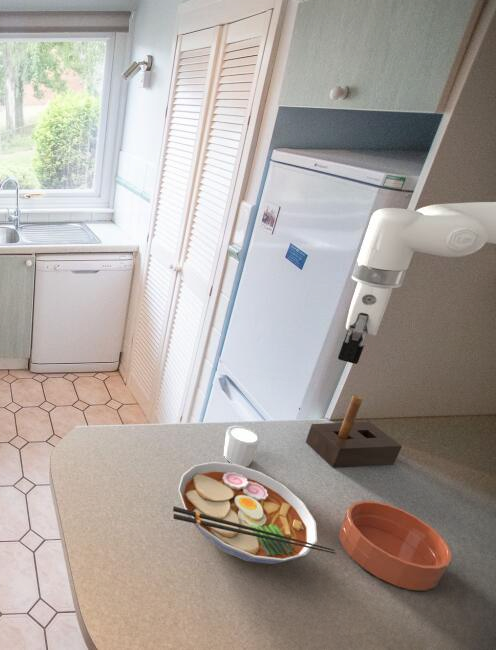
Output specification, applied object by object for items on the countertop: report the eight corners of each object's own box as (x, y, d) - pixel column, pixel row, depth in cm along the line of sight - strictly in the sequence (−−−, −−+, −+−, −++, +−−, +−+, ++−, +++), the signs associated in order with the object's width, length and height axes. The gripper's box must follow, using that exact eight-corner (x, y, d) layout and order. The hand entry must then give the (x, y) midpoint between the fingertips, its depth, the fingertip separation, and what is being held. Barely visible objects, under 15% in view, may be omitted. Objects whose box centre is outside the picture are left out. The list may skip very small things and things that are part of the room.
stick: (340, 452, 108) (362, 395, 101) (343, 457, 106) (365, 400, 100) (329, 450, 108) (350, 393, 102) (332, 455, 107) (353, 398, 100)
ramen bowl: (295, 506, 93) (306, 475, 90) (331, 611, 73) (347, 577, 70) (165, 476, 101) (171, 446, 98) (166, 564, 81) (174, 531, 78)
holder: (305, 442, 111) (311, 423, 109) (362, 439, 112) (369, 421, 110) (332, 467, 103) (340, 448, 101) (393, 464, 104) (402, 445, 101)
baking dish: (414, 536, 86) (426, 512, 84) (455, 604, 74) (470, 579, 72) (328, 515, 91) (337, 492, 88) (353, 577, 79) (364, 552, 76)
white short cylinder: (224, 466, 104) (230, 441, 101) (217, 446, 110) (223, 423, 107) (257, 471, 102) (264, 446, 99) (248, 451, 108) (255, 427, 105)
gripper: (401, 290, 79) (369, 375, 85) (405, 267, 90) (376, 343, 97) (348, 281, 83) (321, 362, 90) (358, 260, 95) (334, 333, 102)
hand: (350, 352), depth 94 cm, fingers open, 9 cm apart
